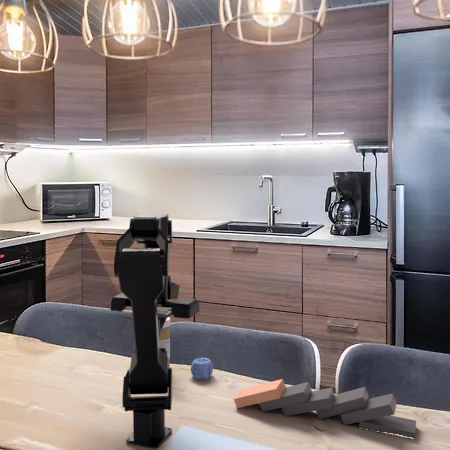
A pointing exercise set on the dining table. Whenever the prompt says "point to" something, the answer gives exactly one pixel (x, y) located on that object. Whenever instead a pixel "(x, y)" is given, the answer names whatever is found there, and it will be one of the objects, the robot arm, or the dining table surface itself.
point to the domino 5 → (372, 410)
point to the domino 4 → (346, 403)
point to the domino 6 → (391, 425)
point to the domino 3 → (312, 402)
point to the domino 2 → (289, 397)
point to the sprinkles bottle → (165, 338)
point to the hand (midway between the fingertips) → (154, 343)
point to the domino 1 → (260, 393)
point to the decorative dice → (201, 368)
